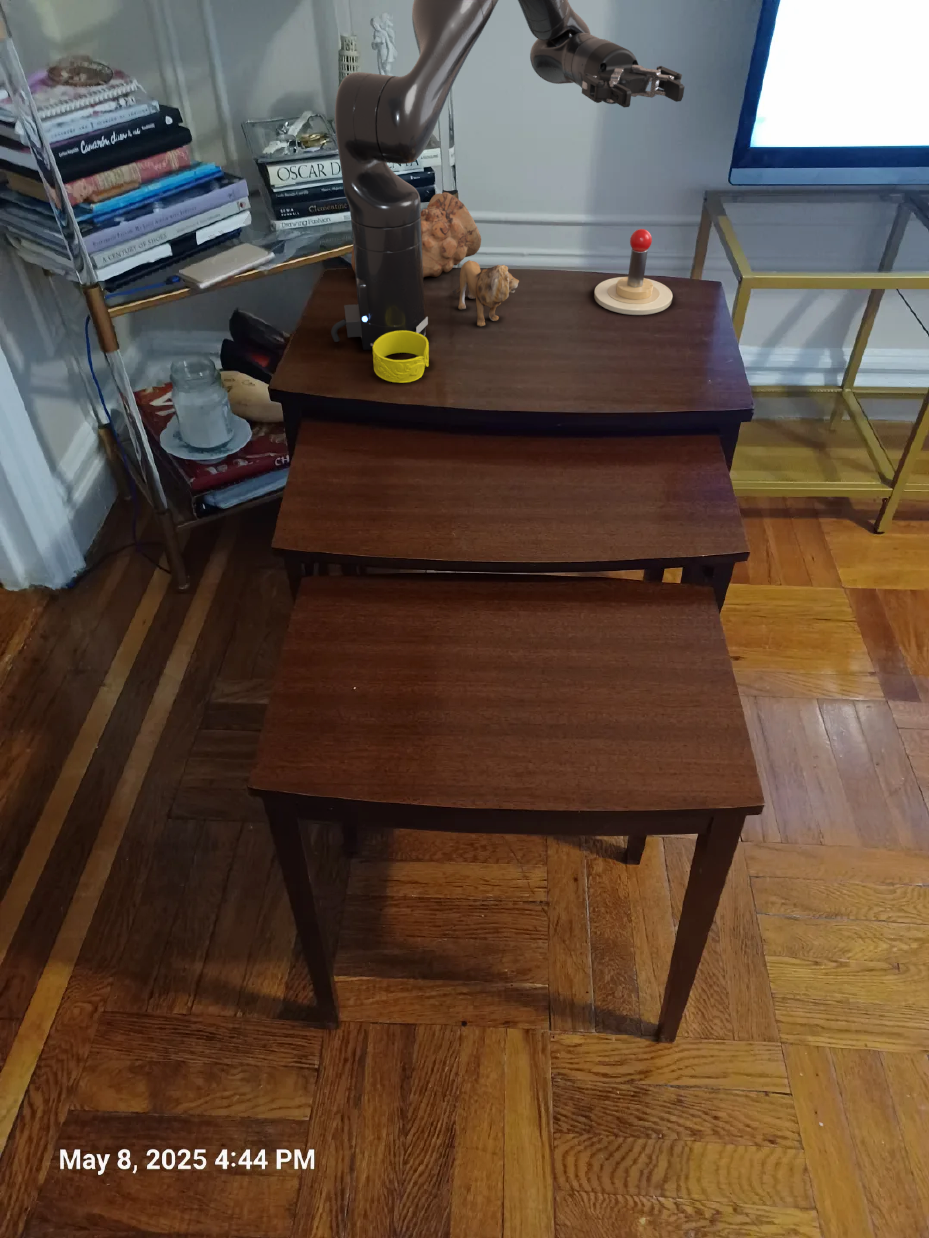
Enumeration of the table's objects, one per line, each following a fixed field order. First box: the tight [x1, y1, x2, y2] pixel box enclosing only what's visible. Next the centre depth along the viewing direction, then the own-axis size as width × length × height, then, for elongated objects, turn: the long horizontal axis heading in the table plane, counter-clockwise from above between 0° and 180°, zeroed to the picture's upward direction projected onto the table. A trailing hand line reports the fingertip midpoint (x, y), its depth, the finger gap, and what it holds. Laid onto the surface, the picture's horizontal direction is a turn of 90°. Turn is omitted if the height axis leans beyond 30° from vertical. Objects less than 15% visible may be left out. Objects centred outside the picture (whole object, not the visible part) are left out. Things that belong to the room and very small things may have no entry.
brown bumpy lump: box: [350, 191, 482, 278], centre depth 142 cm, size 19×11×15 cm
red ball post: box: [616, 228, 653, 300], centre depth 133 cm, size 6×6×9 cm
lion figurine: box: [452, 259, 520, 327], centre depth 130 cm, size 15×5×9 cm, turn 33°
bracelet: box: [372, 330, 430, 384], centre depth 120 cm, size 7×8×3 cm
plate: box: [593, 276, 674, 316], centre depth 137 cm, size 12×12×1 cm
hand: (655, 96), depth 128 cm, fingers open, 8 cm apart
